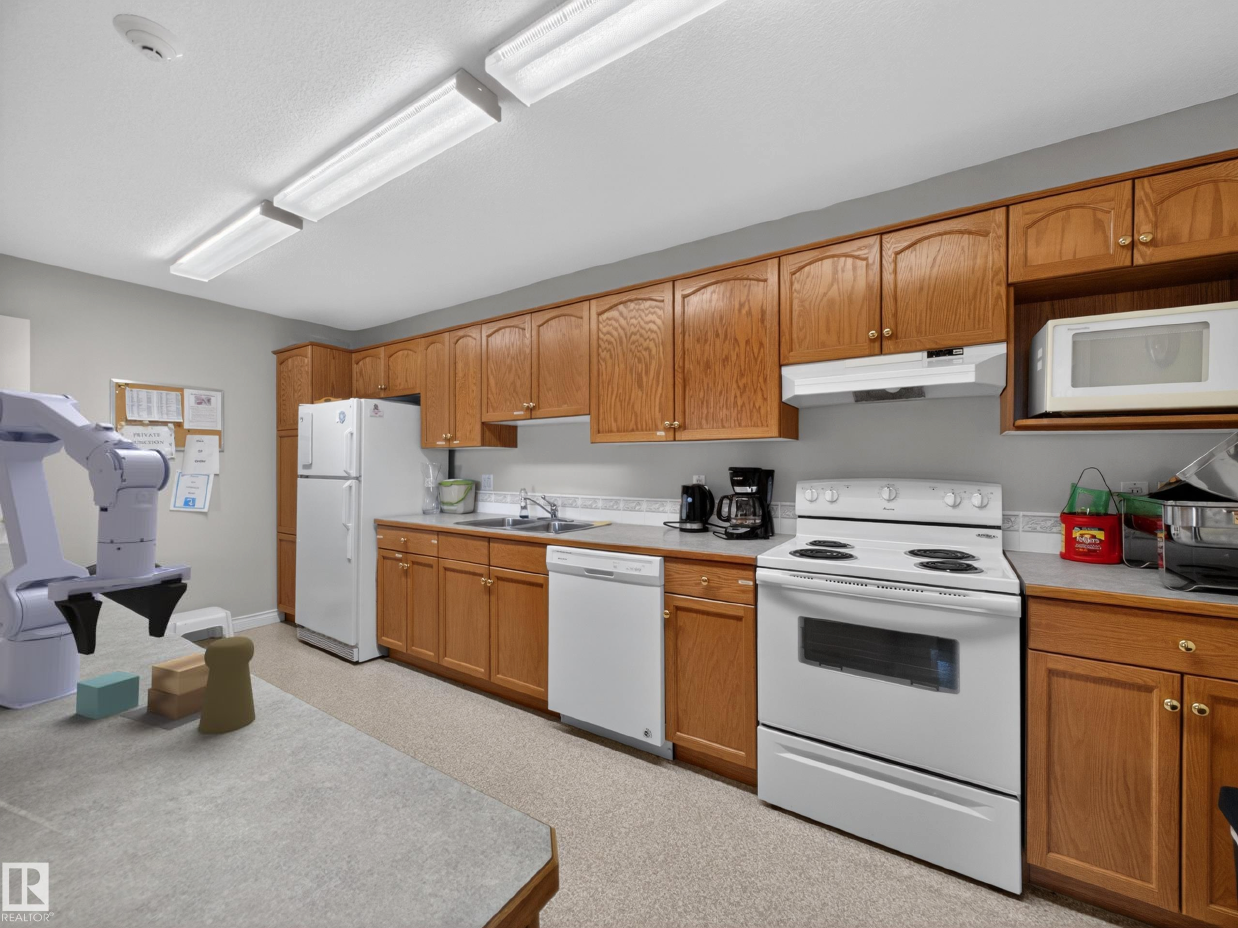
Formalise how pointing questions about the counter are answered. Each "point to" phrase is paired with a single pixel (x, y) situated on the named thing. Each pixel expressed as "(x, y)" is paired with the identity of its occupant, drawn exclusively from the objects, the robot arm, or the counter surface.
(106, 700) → the teal block
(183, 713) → the walnut base block
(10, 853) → the counter surface
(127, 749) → the counter surface
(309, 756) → the counter surface
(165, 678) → the oak top block
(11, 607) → the robot arm
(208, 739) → the counter surface
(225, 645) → the cork
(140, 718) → the coaster mat
